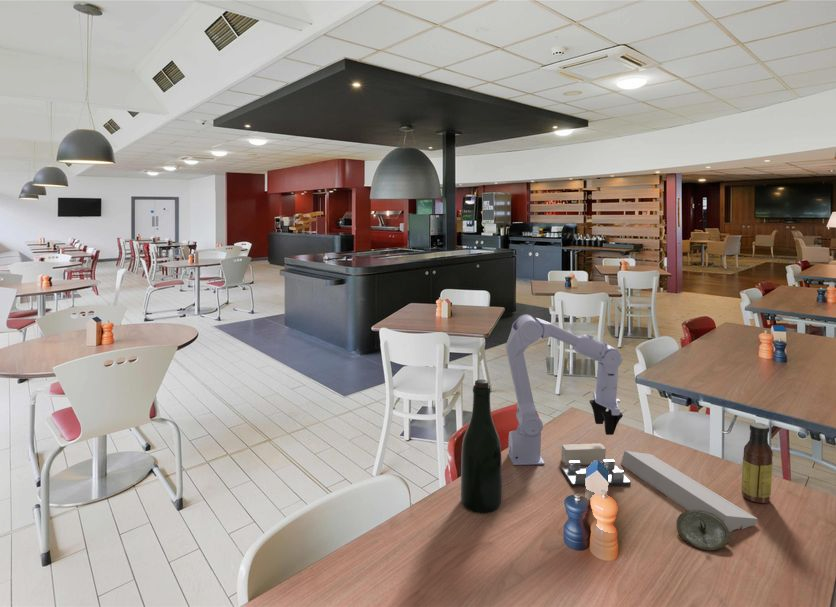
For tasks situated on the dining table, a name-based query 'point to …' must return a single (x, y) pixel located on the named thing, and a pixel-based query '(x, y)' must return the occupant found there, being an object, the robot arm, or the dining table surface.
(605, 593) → the dining table surface
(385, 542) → the dining table surface
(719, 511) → the long grey wedge ramp
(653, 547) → the dining table surface
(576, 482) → the rack
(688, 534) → the lid
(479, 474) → the dark green wine bottle
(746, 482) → the sauce bottle
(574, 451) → the cream rectangular block
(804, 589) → the dining table surface
